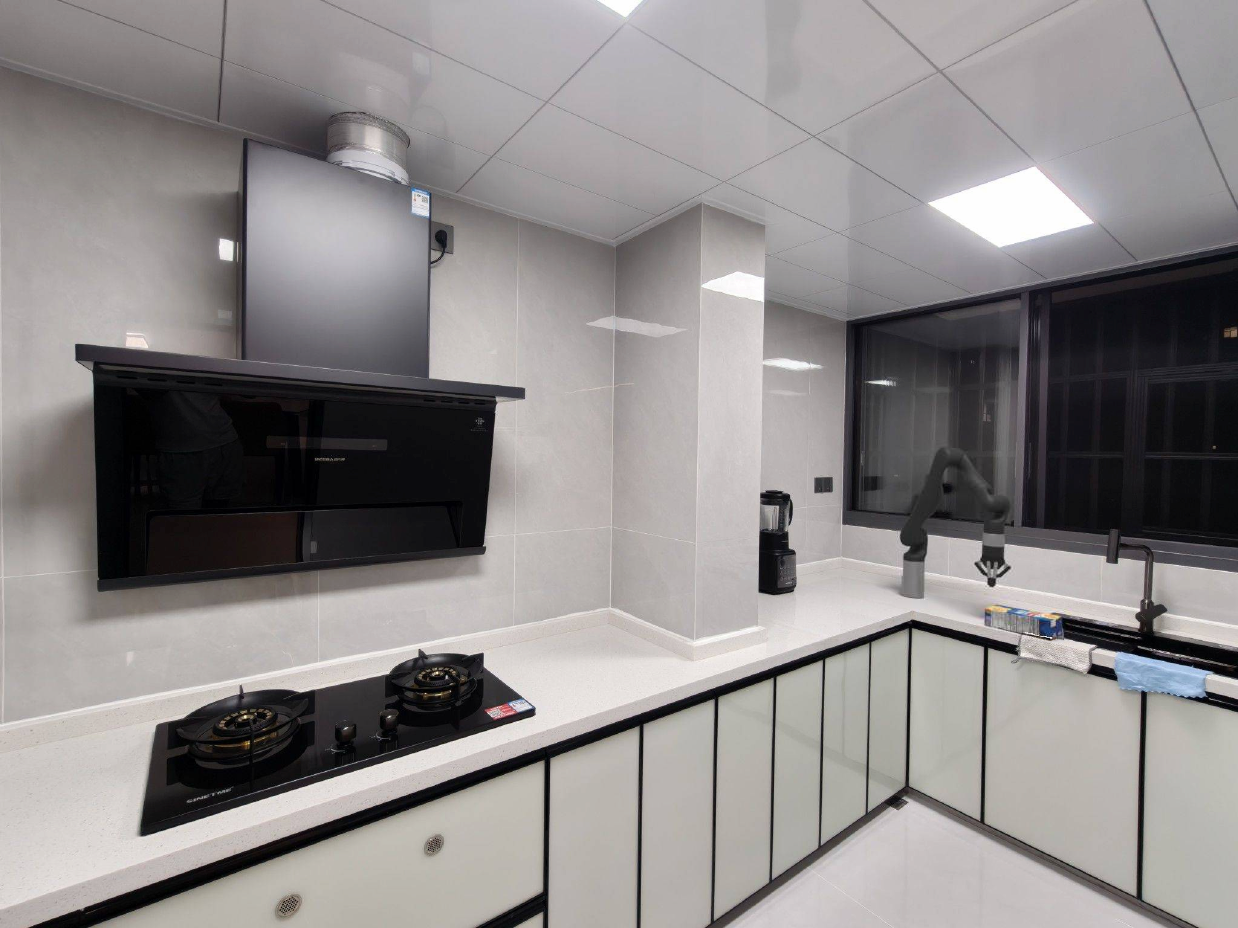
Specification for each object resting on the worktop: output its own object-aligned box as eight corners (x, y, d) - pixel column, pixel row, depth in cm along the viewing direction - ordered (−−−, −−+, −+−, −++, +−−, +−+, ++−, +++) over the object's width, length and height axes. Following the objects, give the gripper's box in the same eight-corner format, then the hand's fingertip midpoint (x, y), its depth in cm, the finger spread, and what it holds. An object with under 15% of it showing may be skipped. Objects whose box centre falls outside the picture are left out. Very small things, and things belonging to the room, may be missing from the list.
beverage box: (984, 608, 223) (1050, 620, 205) (996, 604, 229) (1062, 616, 211) (984, 625, 223) (1050, 639, 205) (996, 621, 229) (1062, 634, 211)
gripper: (973, 543, 227) (971, 585, 228) (1012, 547, 219) (1011, 591, 220) (974, 541, 233) (973, 582, 234) (1013, 545, 225) (1011, 587, 226)
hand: (991, 586), depth 227 cm, fingers closed
